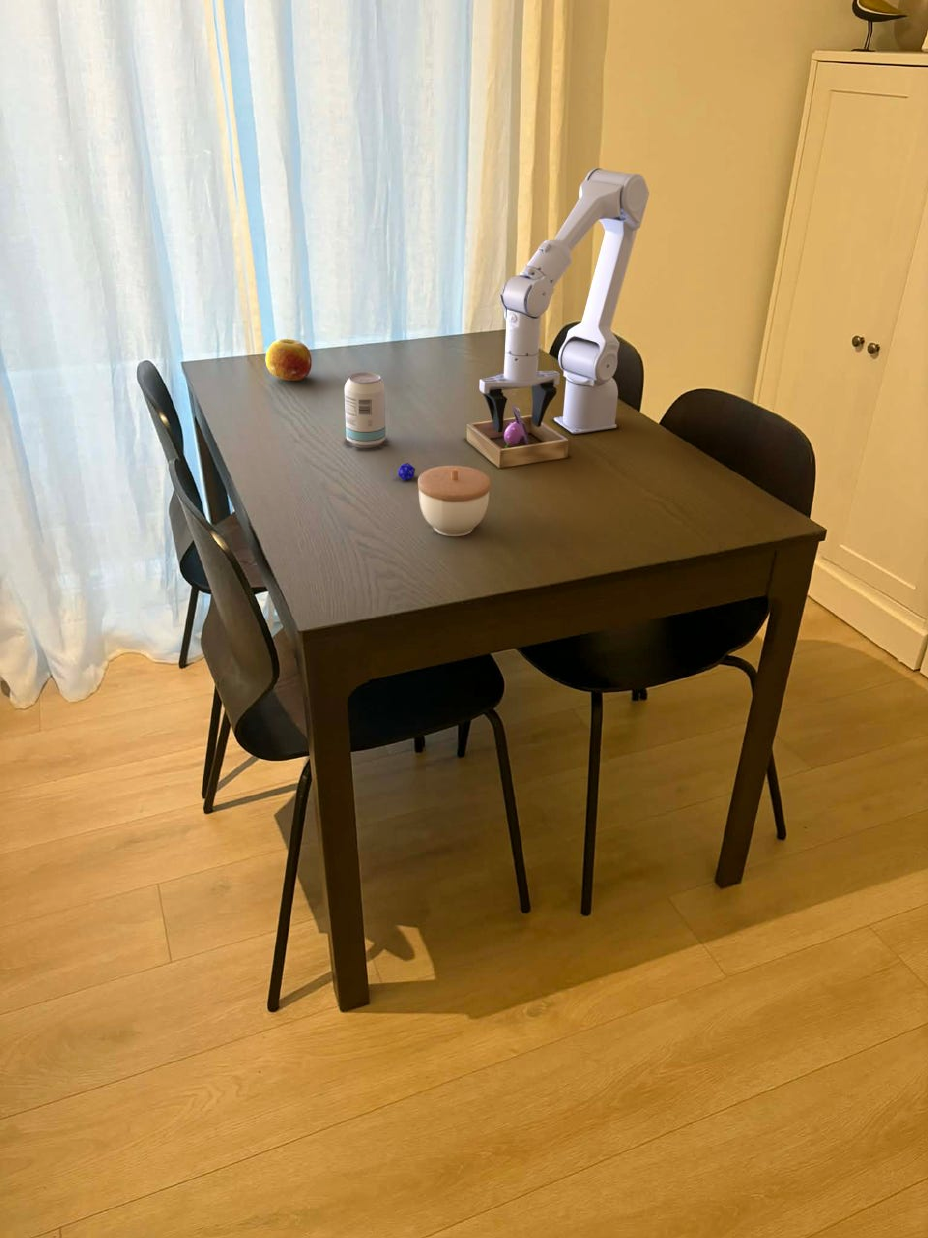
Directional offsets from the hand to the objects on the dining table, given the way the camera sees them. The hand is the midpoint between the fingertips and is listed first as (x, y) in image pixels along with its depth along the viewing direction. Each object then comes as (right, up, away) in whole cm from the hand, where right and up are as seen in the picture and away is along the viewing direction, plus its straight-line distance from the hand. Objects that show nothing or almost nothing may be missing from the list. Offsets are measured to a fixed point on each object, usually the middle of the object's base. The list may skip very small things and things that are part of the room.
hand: (517, 427), depth 173 cm
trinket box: (-11, -20, -24) cm, 33 cm away
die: (-19, -11, -10) cm, 24 cm away
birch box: (0, -3, +2) cm, 4 cm away
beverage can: (-27, -2, +3) cm, 27 cm away
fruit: (-45, +16, +31) cm, 57 cm away
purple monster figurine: (0, -4, +2) cm, 4 cm away
